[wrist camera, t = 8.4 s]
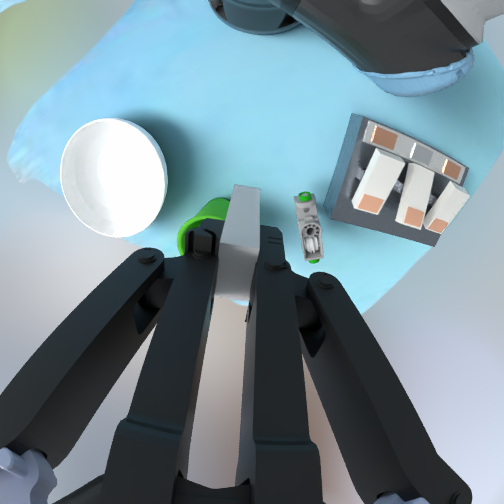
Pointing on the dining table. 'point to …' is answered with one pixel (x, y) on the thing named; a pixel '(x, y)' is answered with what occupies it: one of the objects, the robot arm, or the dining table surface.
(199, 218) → the cup
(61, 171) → the bowl
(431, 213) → the block
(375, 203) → the block
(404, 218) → the rocker
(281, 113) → the dining table surface
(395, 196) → the console
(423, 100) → the dining table surface
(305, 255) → the mechanical component
